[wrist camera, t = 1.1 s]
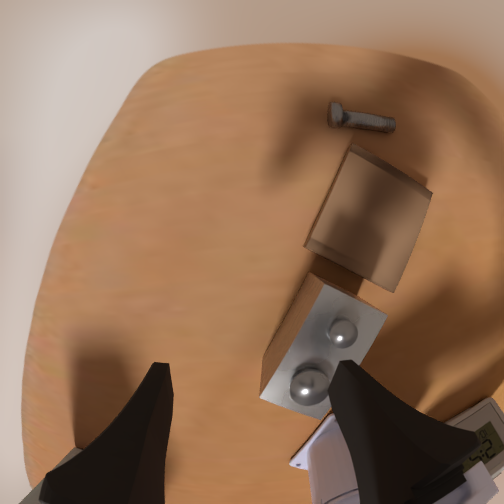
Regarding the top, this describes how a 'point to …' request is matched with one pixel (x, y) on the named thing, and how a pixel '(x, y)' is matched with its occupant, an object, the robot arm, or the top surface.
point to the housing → (316, 345)
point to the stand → (370, 218)
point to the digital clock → (484, 434)
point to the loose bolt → (358, 119)
